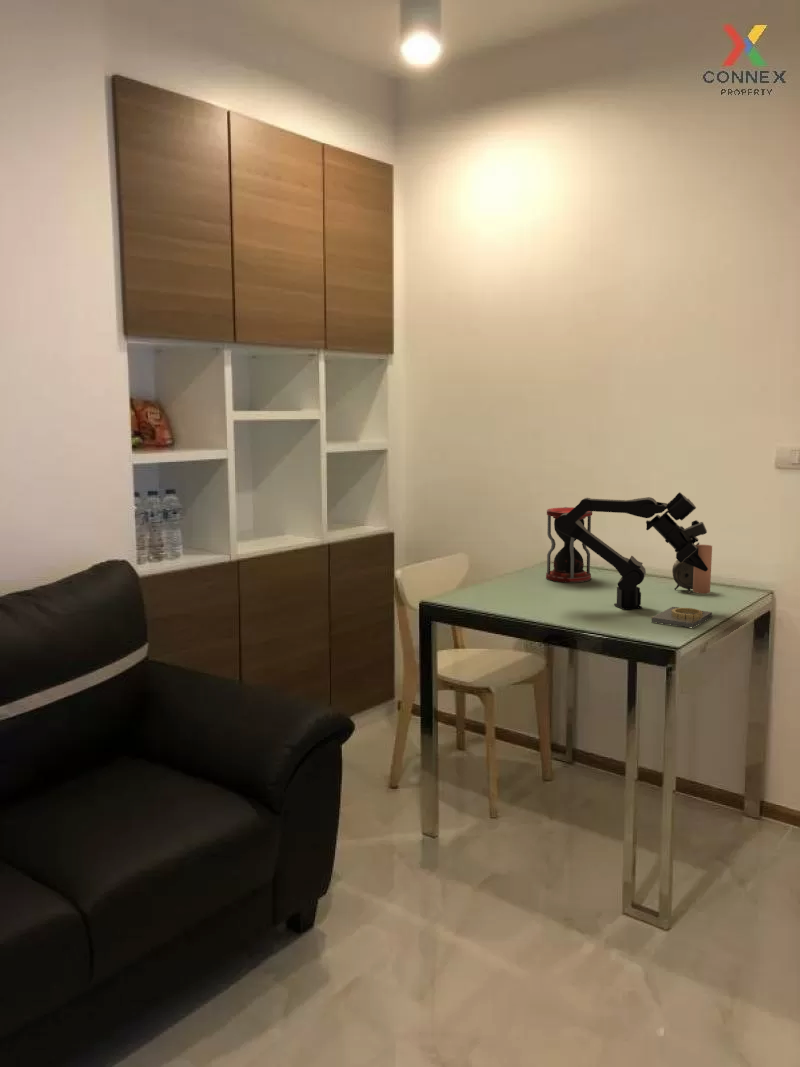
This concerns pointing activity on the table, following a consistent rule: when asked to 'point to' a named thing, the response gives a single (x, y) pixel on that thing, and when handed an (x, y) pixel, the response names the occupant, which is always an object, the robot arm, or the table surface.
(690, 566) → the alarm clock
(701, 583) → the orange tapered capsule
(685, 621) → the plate
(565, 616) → the table surface
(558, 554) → the hourglass
